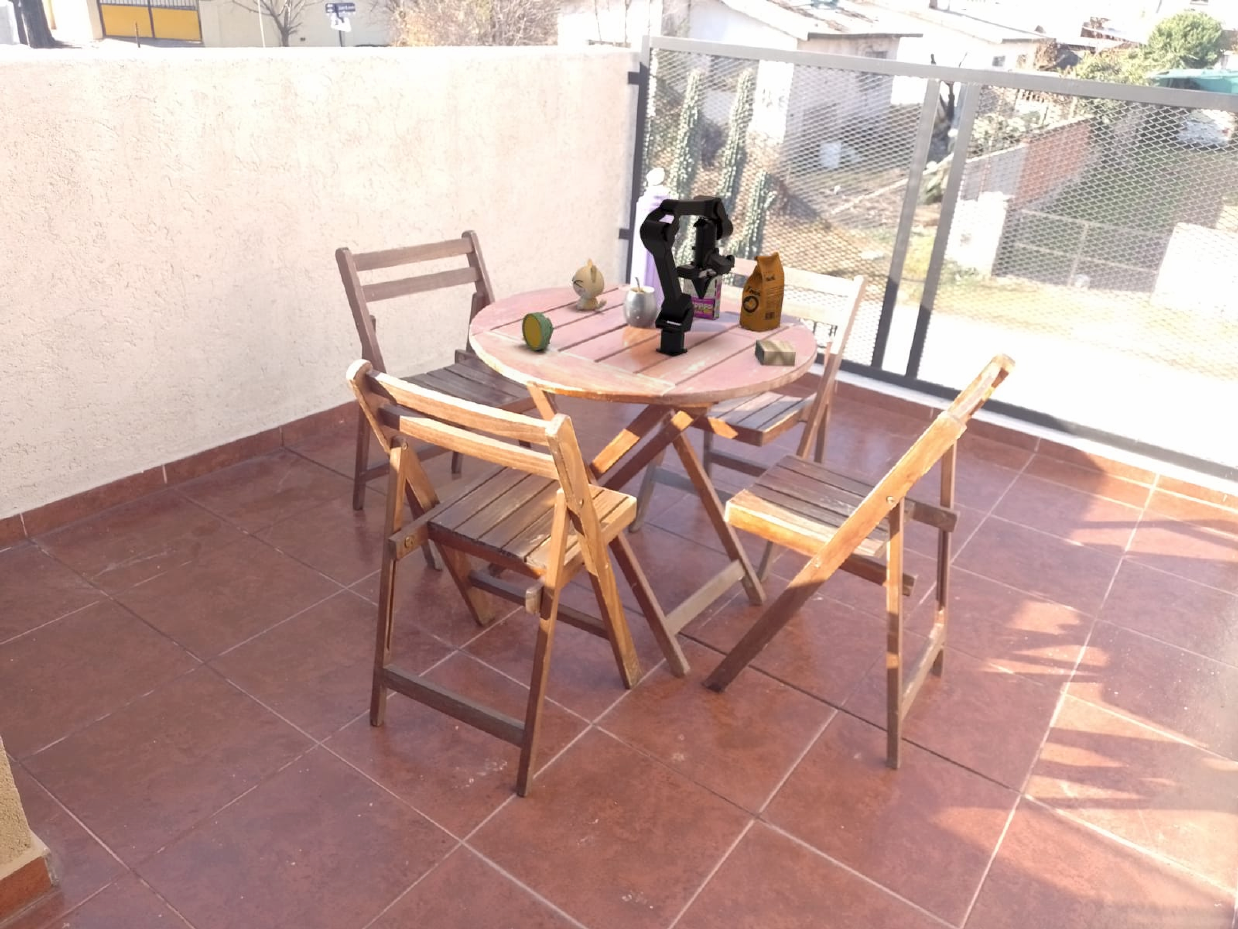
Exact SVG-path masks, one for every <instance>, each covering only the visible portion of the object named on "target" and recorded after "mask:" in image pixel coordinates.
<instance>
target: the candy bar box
mask: <svg viewBox="0 0 1238 929" xmlns="http://www.w3.org/2000/svg"><path fill="white" fill-rule="evenodd" d="M691 261H692V260H690V261H687V262H685V263H684V265H689V266H694V265H690V262H691ZM715 274H716V272H715ZM722 285H723V275H722V276H720V275H718V276H717V277H715V278H714V279H713V280H712V281H711V282H710V284H709V287H708V289H707V291H706V294H705V296H704V299H702V300H701V299H699V298H698V295H697V293H696V290H695V288H694V285H693V283H692V281H691V280H688V279H684V278H683V287H682V288H683V289H682V293H686V294H690V295H691V297H692V303H693V304H694V306H693V309H694V318H698V319H699V318H700V319H704V320H705V319H706V320H711V321H714V320H716V319H718V318H719V317H720V312H721V310H720V309H721V300H722V298H721V296H722Z"/></svg>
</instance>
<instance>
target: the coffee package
mask: <svg viewBox="0 0 1238 929" xmlns="http://www.w3.org/2000/svg"><path fill="white" fill-rule="evenodd" d="M753 259H754V261H755V262H756V265H755V266H754V268H753V271H752V273H751V274H750V275H749V277H748V278H747V280H746V282H745V283H744V285H743V289H742V292H741V304H740V305H741V306H740V312H739V319H738V320H739V321H738V323H739V325H740V327H741V328H745V329H746V330H750V331H753V332H758V333H763V332H765V331H766V330H774V329H776V328H778V327H779V326H781V318H782V310H783V304H784V298H785V283H786V282H785V279H786V278H785V271H784V267H783V264H782V261H781V258H780V255H779V252H778V251H775V252H774V251H773V253H772V254H771V255H756V256H755V257H754V258H753Z"/></svg>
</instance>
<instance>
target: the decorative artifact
mask: <svg viewBox="0 0 1238 929" xmlns="http://www.w3.org/2000/svg"><path fill="white" fill-rule="evenodd" d="M554 329H555V327H554V326H553V323H552V321H551V319H550V318H549V317H546V316H545V315H544V314H543V313H542V312H539V311H537V312H536V311H535V312H530V313H527V314H525V315H524V317H523V319H522V322H521V331H522V332H521V333H522V337H523V340H524V342H525V344H526V346H527V347H528V348H529V349H530V350H531V351H539V350H541V351H542V350H545V349H546V348H548V346H549V345H550V344H551V339H552V335H553V333H554Z"/></svg>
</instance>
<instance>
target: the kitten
mask: <svg viewBox="0 0 1238 929" xmlns="http://www.w3.org/2000/svg"><path fill="white" fill-rule="evenodd" d="M604 279H605V278H604V276H603V273H602V272H601V271H600V270H599V269H598V268H597V266H596V265H594V263H593V260H592V259H591V258H588V260H587V265H585V266H582V267H580V268H578V269H577V270H576V272H575V274H574V276H572V279H571V282H572V288H573V290H574V292H575V294H577V295H578V296H579V299H578V301H577V304H576V308H577V310H578V311H582V310H583V311H584V310H585V311H594V310H596V309H597V310H599V309H602V308H604V307H606V304H607V302H608V301H607V299H606V298H604V297H603V298H601V299H600V301H598V299H597V298H596V297H598V296H600V295H602V293H603V292H604V290H605V280H604Z"/></svg>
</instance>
